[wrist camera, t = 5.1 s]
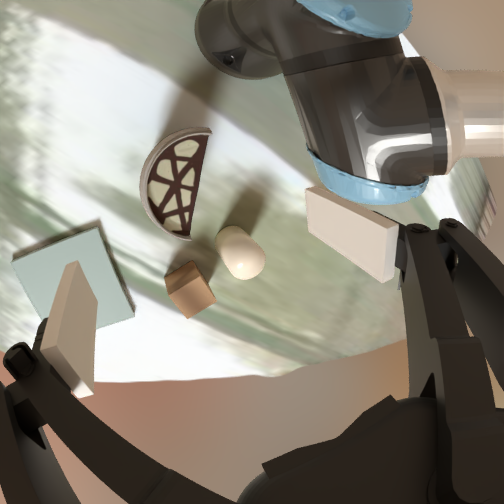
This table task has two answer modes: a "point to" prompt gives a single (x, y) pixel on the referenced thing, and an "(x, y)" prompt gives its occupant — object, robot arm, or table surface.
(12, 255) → the table surface
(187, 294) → the walnut block
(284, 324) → the table surface
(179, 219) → the food container
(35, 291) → the teal board
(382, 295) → the table surface
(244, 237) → the cream cylinder
